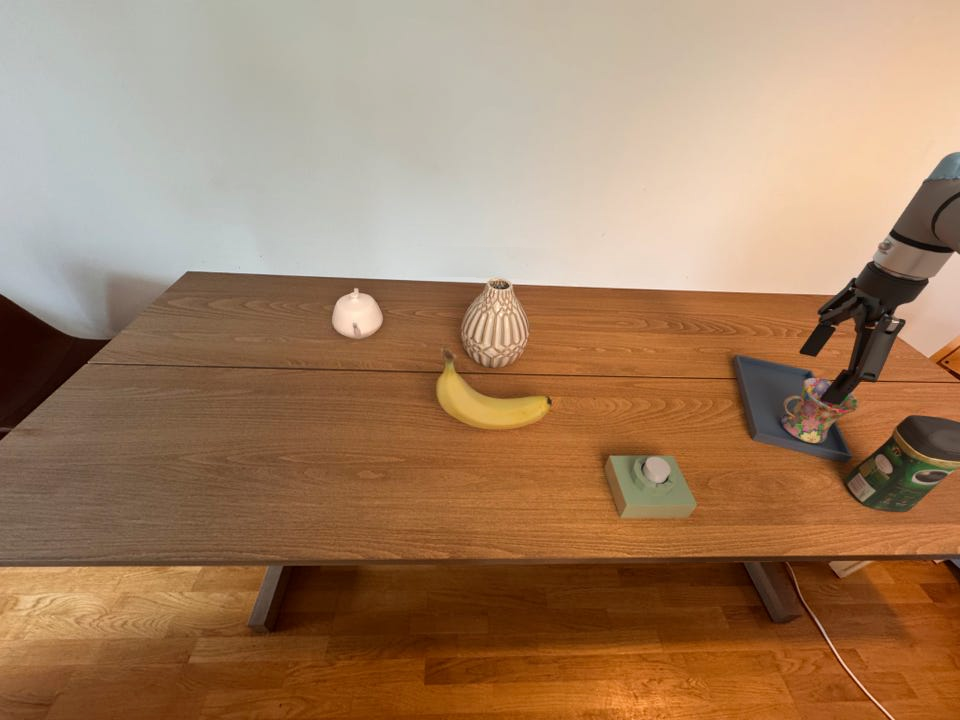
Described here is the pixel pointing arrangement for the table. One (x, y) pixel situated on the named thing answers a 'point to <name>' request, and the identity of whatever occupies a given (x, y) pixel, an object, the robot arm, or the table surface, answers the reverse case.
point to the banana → (485, 402)
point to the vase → (495, 326)
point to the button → (656, 470)
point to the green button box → (648, 489)
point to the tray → (780, 406)
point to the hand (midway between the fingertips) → (817, 376)
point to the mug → (814, 412)
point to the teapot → (357, 315)
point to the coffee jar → (907, 464)
